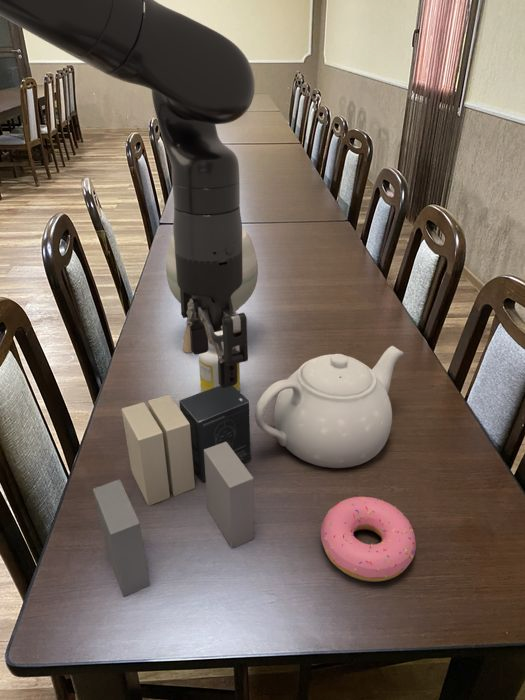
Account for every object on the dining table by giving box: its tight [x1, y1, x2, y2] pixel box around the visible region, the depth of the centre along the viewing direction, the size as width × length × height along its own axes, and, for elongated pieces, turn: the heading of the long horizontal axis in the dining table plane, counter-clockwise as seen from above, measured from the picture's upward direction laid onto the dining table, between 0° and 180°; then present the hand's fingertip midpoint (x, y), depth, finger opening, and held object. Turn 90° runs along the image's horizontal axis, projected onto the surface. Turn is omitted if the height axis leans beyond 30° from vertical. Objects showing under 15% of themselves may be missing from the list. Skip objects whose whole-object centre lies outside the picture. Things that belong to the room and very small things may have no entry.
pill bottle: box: [198, 330, 241, 393], centre depth 87 cm, size 6×6×12 cm
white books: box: [121, 393, 196, 507], centre depth 70 cm, size 6×7×11 cm
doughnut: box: [320, 494, 417, 583], centre depth 62 cm, size 11×11×4 cm
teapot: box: [254, 345, 405, 469], centre depth 78 cm, size 19×18×14 cm
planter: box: [165, 227, 259, 354], centre depth 97 cm, size 16×16×22 cm
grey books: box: [92, 442, 255, 597], centre depth 61 cm, size 16×7×10 cm, turn 119°
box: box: [178, 386, 252, 482], centre depth 73 cm, size 8×6×11 cm
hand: (213, 368), depth 68 cm, fingers open, 8 cm apart
